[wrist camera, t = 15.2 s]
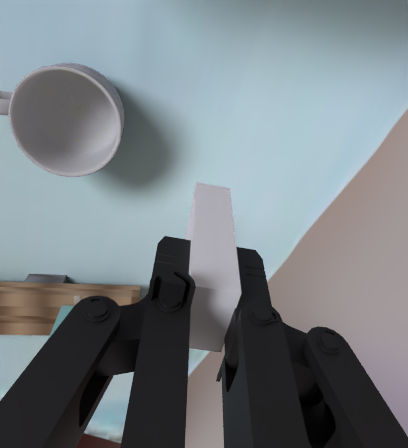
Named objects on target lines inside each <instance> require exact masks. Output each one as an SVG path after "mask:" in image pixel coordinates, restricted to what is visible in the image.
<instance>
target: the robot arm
mask: <svg viewBox="0 0 408 448" xmlns="http://www.w3.org/2000/svg"><path fill="white" fill-rule="evenodd" d="M224 344H225V355H224V358H223V361H222V364H221V367H220V370H219V372H218V375H217V380H216V381H220V379H221V376H222V395H223V396H222V397H223V427H224V448H408V437H407V435H406V433H405V432H404V430H403V429H402V427H401V426H400V424H399V422H398V421H397V419H396V418H395V416H394V415H393V413H392V412H391V410H390V409H389V407H388V406H387V404H386V402H385V401H384V400H383V398H382V396H381V394H380V393H379V391H378V390H377V388H376V387H375V385H374V383H373V382H372V380H371V379H370V377H369V376H368V374H367V373H366V371H365V369H364V368H363V366H362V365H361V363H360V362H359V360H358V359H357V357H356V355H355V354H354V352H353V351H352V349H351V348H350V346H349V345H348V343H347V342H346V341H345V339H344V338H343V337H342V336H340V335H339V334H338V333H336V332H335V331H334V330H331V329H329V328H326V327H315V328H312V329H311V330H310V331H309V332H308V333H304V332H302V331H300V330H297V329H295V328H292V327H290V326H288V325H286V324H285V323H284V322H282V319H281V317H280V314H279V313H278V312H277V311H276V310H275V309H274V308H273V307H272V305H271V300H270V295H269V290H268V285H267V280H266V275H265V271H264V265H263V259H262V258H261V257H260V255H259V254H258V253H257V251H256V250H252V249H246V248H239V247H236V240H235V231H234V222H233V213H232V204H231V195H230V188H225V187H219V186H214V185H208V184H203V183H197V182H196V186H195V191H194V196H193V201H192V206H191V210H190V215H189V220H188V225H187V229H186V236H185V239H179V238H173V237H167V236H165V237H164V238H163V239H162V240H161V241H160V242H159V243H158V246H157V251H156V257H155V262H154V268H153V273H152V278H151V280H150V286H149V292H148V294H147V295H146V297H145V298H143V299H142V300H141V301H139V302H136V303H134V304H129V305H122V306H119V305H118V304H117V303H116V302H115V301H114V300H112V299H111V298H109V297H105V296H99V295H97V296H89V297H87V298H84V299H82V300H80V301H79V302H78V303H77V304H76V305H75V306H74V307H73V308H72V310H71V311H70V312H69V313H68V315H67V316H66V317H65V319H64V320H63V321H62V322H61V324H60V325H59V326H58V328H57V329H56V330H55V331H54V333H53V334H52V335H51V337H50V338H49V339H48V340H47V342H46V343H45V344H44V346H43V347H42V348H41V349H40V351H39V352H38V353H37V355H36V356H35V357H34V358H33V360H32V361H31V362H30V364H29V365H28V366H27V367H26V369H25V370H24V371H23V373H22V374H21V375H20V376H19V378H18V379H17V380H16V382H15V383H14V384H13V385H12V387H11V388H10V389H9V391H8V392H7V393H6V394H5V396H4V397H3V398H2V400H1V401H0V448H76V446H77V444H78V442H79V440H80V438H81V436H82V434H83V433H84V431H85V429H86V427H87V425H88V423H89V421H90V419H91V418H92V416H93V414H94V412H95V410H96V408H97V406H98V404H99V402H100V400H101V399H102V397H103V395H104V393H105V391H106V389H107V387H108V385H109V383H110V381H111V380H112V378H113V375H118V374H123V373H129V372H134V376H133V382H132V387H131V393H130V398H129V404H128V409H127V415H126V420H125V426H124V431H123V437H122V442H121V448H185V427H186V404H187V383H188V360H189V348H193V349H200V350H208V351H215V352H221V351H222V348H223V345H224Z"/></svg>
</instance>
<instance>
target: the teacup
mask: <svg viewBox="0 0 408 448" xmlns="http://www.w3.org/2000/svg"><path fill="white" fill-rule="evenodd" d="M0 115H9V123H10V127H11V131H12V134H13V137H14V139H15V141H16V143H17V145H18V146H19V148H20V149H21V150H22V152H23V153H24V154H25V155H26V156H27V157H28V158H29V159H30V160H31V161H32V162H33V163H35V164H36V165H37V166H39V167H41V168H43V169H44V170H46V171H48V172H51V173H53V174H56V175H60V176H66V177H80V176H85V175H89V174H92V173H94V172H96V171H98V170H100V169H102V168H103V167H104V166H105V165H107V164H108V163H109V162H110V160H111V159H112V158H113V156H114V155H115V153H116V152H117V149H118V147H119V144H120V141H121V137H122V132H123V128H124V109H123V104H122V101H121V99H120V96H119V94H118V92H117V91H116V89H115V88H114V86H113V85H112V84H111V83H110V82H109V80H108V79H106V78H105V77H104V76H103V75H102V74H100V73H99V72H97V71H95V70H94V69H92V68H89V67H87V66H84V65H80V64H74V63H62V64H56V65H52V66H46V67H42V68H39V69H37V70H35V71H32V72H31V73H29V74H28V75H26V76H25V77H24V78H23V79H22V80H21V81H20V82H19V83H18V84H17V86H16V88H15V89H14V92H13V93H11V92H4V91H0Z"/></svg>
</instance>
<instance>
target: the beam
mask: <svg viewBox="0 0 408 448" xmlns="http://www.w3.org/2000/svg"><path fill="white" fill-rule="evenodd" d="M97 295H99V296H105V297H109V298H111V299H112V300H114V301H115V302H116V303H117V304H118V305H119V306H122V305H129V304H134V303H136V302H139V301H140V286H130V285H97V284H67V281H66V275H43V274H29V275H28V277H27V278H26V280H25V281H24V282H0V335H50V333H51V331H52V328H53V326H54V324H55V321H56V319H57V316H58V314H59V312H60V309H61V307H62V305H69V306H75V305H76V304H77V303H78V302H79V301H80V300H82V299H84V298H87V297H89V296H97Z"/></svg>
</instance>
